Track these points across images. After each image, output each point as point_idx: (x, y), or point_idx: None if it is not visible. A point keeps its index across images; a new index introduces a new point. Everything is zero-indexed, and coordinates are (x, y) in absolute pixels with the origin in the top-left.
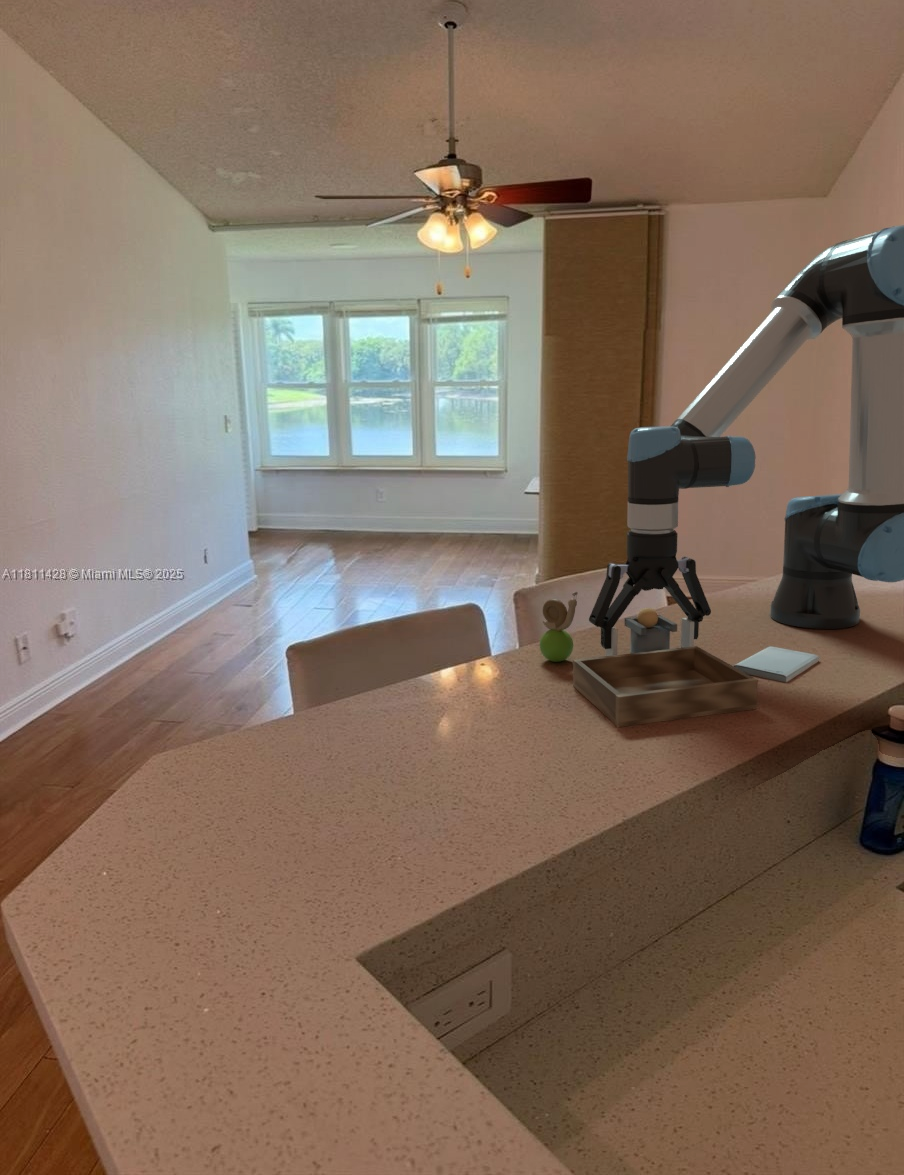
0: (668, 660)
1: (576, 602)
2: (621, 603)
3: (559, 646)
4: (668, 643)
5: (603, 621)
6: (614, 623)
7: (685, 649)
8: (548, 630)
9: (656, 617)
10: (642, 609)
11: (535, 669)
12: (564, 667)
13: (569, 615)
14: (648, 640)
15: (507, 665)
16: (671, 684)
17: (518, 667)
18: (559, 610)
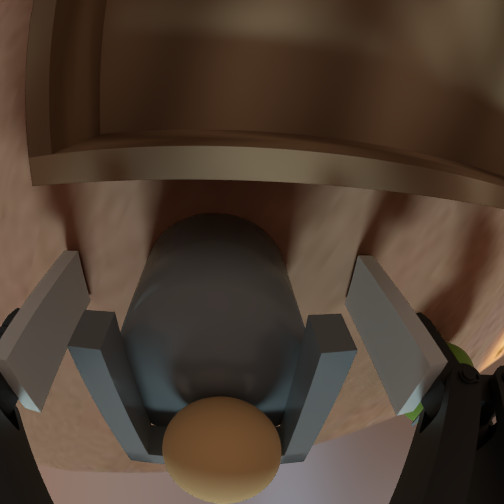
0: (218, 137)
1: None
2: (465, 491)
3: (464, 361)
4: (144, 288)
5: (483, 396)
6: (454, 389)
7: (103, 148)
8: None
9: (184, 439)
10: (254, 495)
11: (478, 316)
12: (437, 316)
13: None
14: (272, 300)
15: (487, 343)
16: (284, 8)
17: (485, 331)
18: None
